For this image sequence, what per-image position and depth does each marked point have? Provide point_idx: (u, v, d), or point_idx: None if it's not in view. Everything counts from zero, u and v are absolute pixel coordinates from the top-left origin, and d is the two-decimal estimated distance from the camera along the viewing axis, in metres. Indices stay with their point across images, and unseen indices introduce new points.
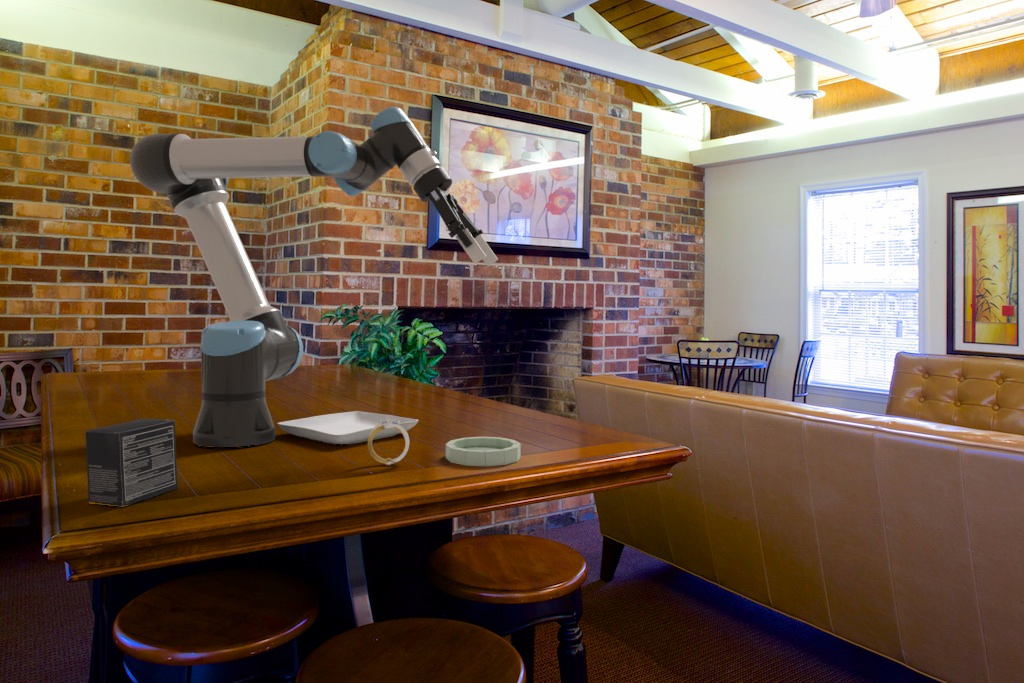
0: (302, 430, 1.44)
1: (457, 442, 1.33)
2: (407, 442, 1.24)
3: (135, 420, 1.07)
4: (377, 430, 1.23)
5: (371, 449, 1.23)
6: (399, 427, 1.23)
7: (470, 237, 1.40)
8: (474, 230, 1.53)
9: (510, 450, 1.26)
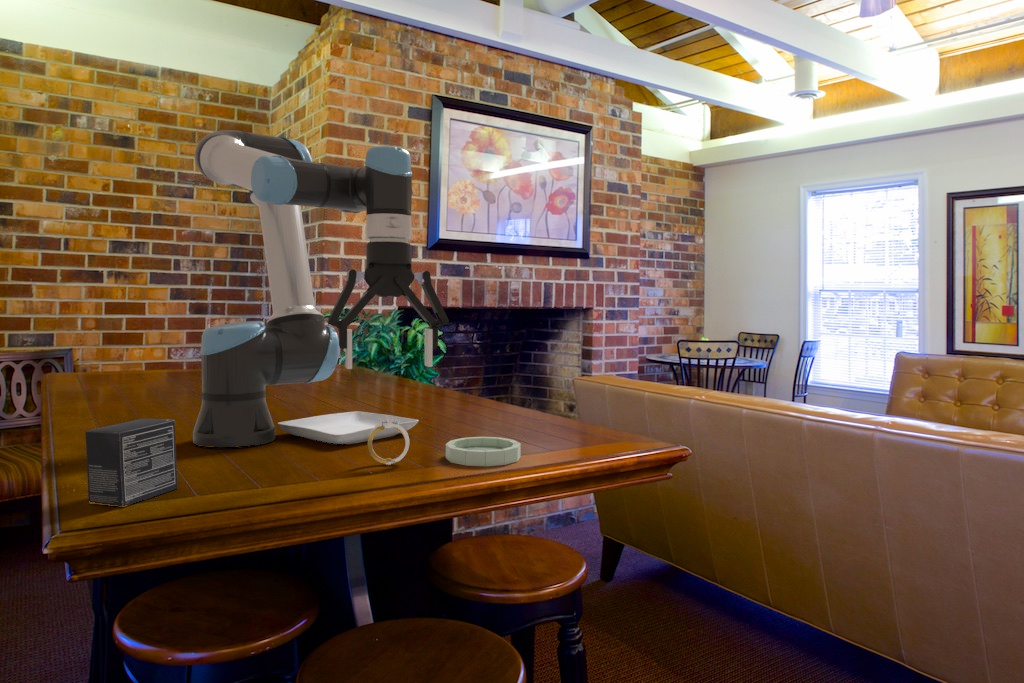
0: (302, 430, 1.44)
1: (457, 442, 1.33)
2: (407, 442, 1.24)
3: (135, 420, 1.07)
4: (377, 430, 1.23)
5: (371, 449, 1.23)
6: (399, 427, 1.23)
7: (347, 341, 1.20)
8: (427, 321, 1.24)
9: (510, 450, 1.26)
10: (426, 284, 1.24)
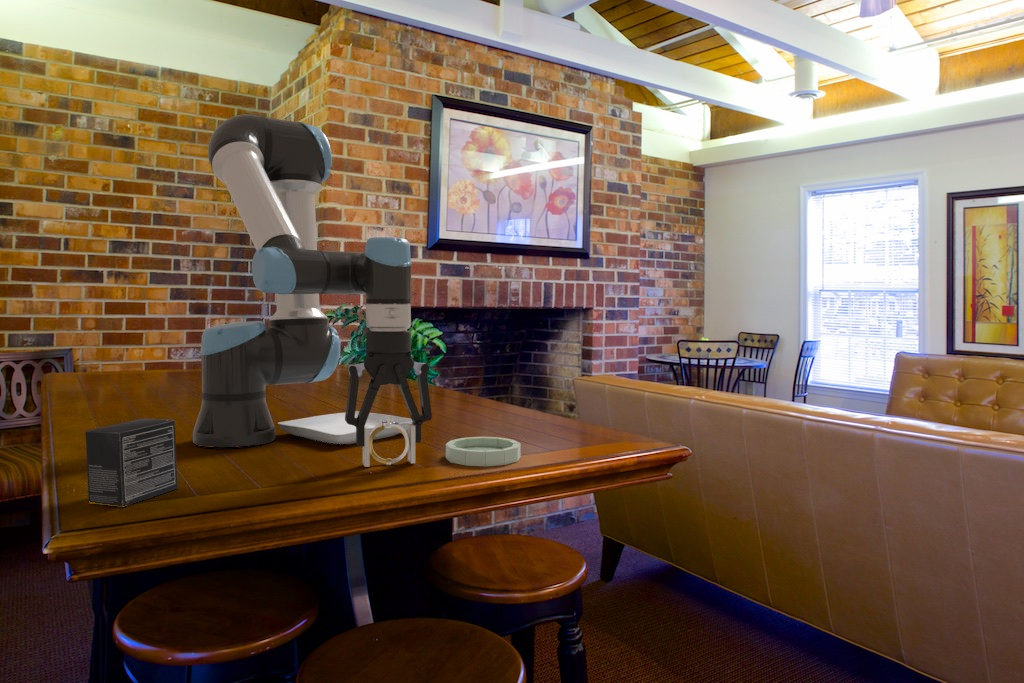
0: (302, 430, 1.44)
1: (457, 442, 1.33)
2: (407, 442, 1.24)
3: (135, 420, 1.07)
4: (377, 430, 1.23)
5: (371, 449, 1.23)
6: (399, 427, 1.23)
7: (364, 439, 1.22)
8: (411, 415, 1.24)
9: (510, 450, 1.26)
10: (422, 376, 1.24)
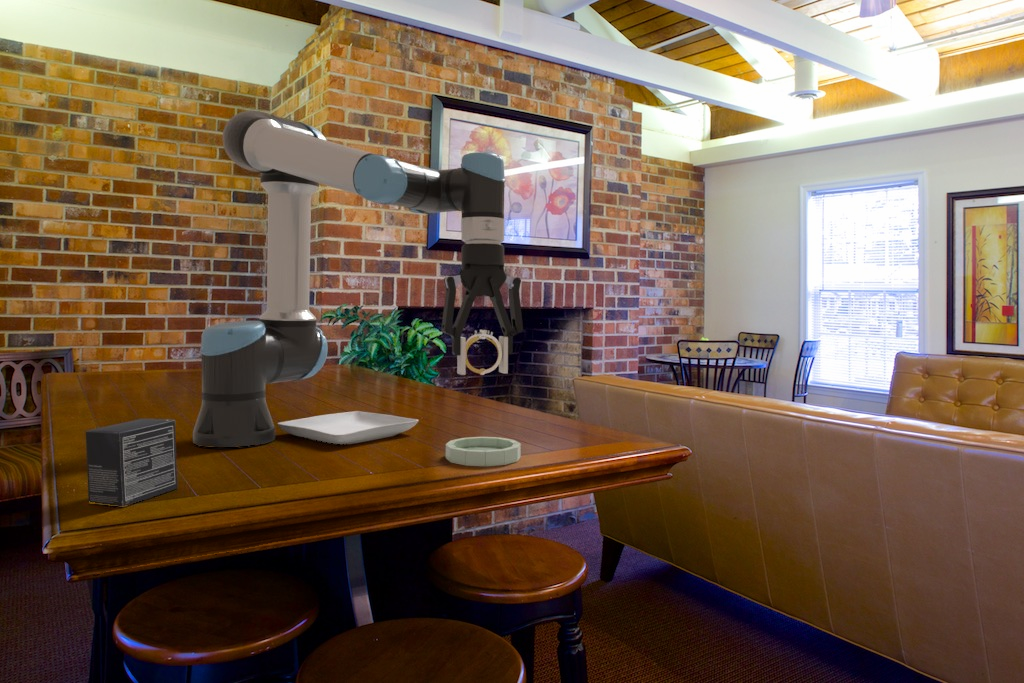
0: (302, 430, 1.44)
1: (457, 442, 1.33)
2: (500, 353, 1.29)
3: (135, 420, 1.07)
4: (472, 340, 1.27)
5: (466, 359, 1.28)
6: (493, 338, 1.28)
7: (460, 348, 1.26)
8: (504, 327, 1.29)
9: (510, 450, 1.26)
10: (514, 289, 1.29)
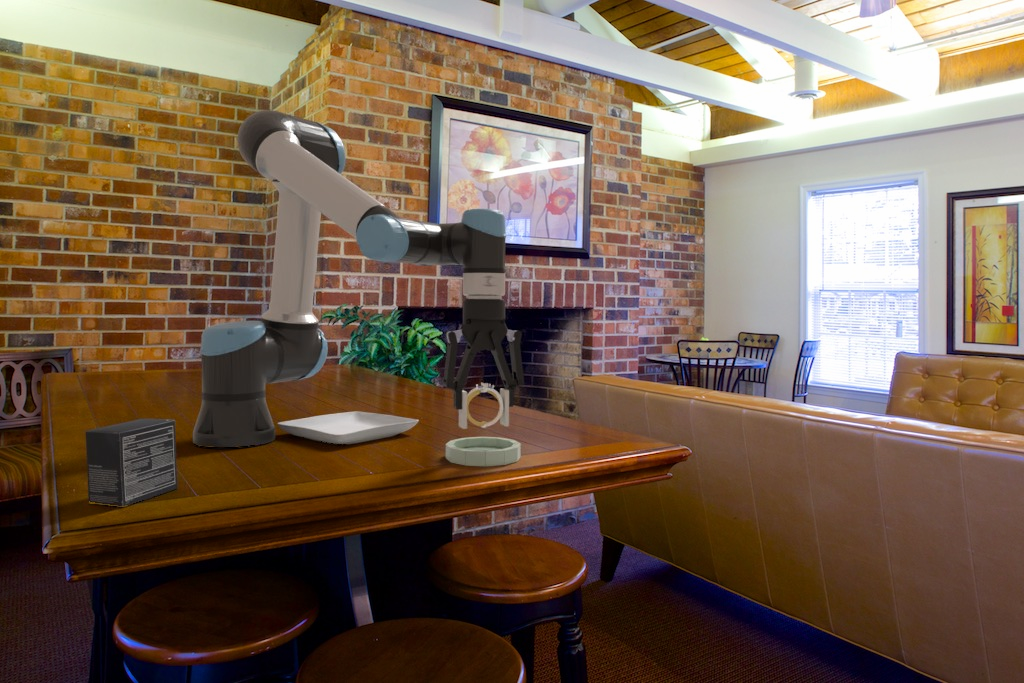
0: (302, 430, 1.44)
1: (457, 442, 1.33)
2: (501, 406, 1.29)
3: (135, 420, 1.07)
4: (474, 394, 1.28)
5: (467, 412, 1.29)
6: (494, 391, 1.29)
7: (462, 402, 1.27)
8: (505, 380, 1.30)
9: (510, 450, 1.26)
10: (515, 343, 1.30)
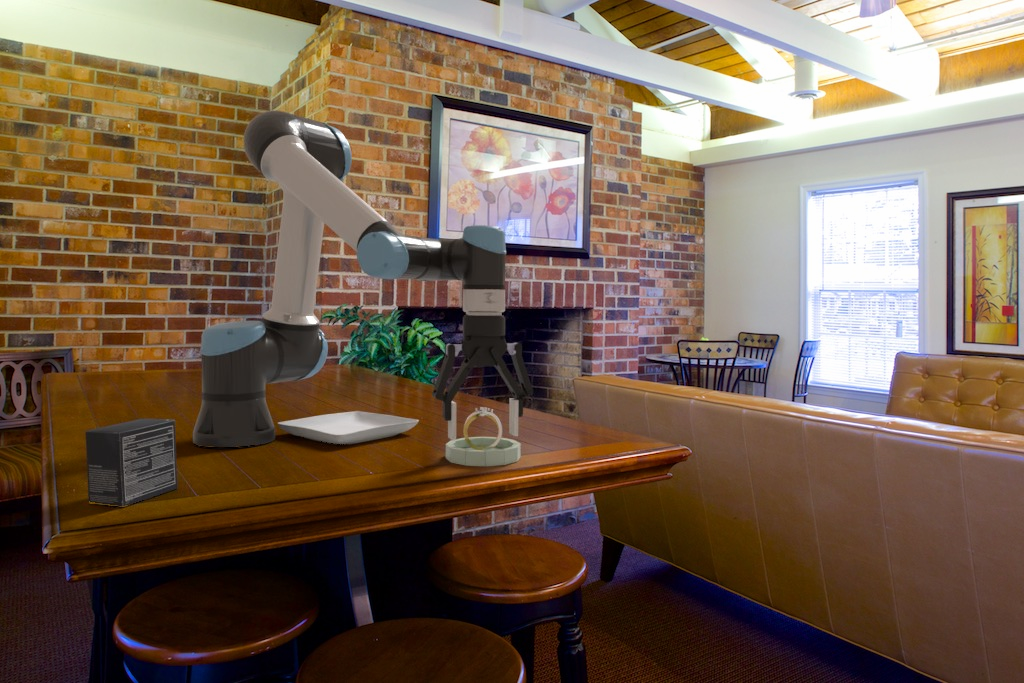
0: (302, 430, 1.44)
1: (457, 442, 1.33)
2: (500, 430, 1.30)
3: (135, 420, 1.07)
4: (473, 417, 1.29)
5: (467, 436, 1.30)
6: (493, 415, 1.30)
7: (451, 413, 1.27)
8: (514, 391, 1.31)
9: (510, 450, 1.26)
10: (517, 356, 1.30)
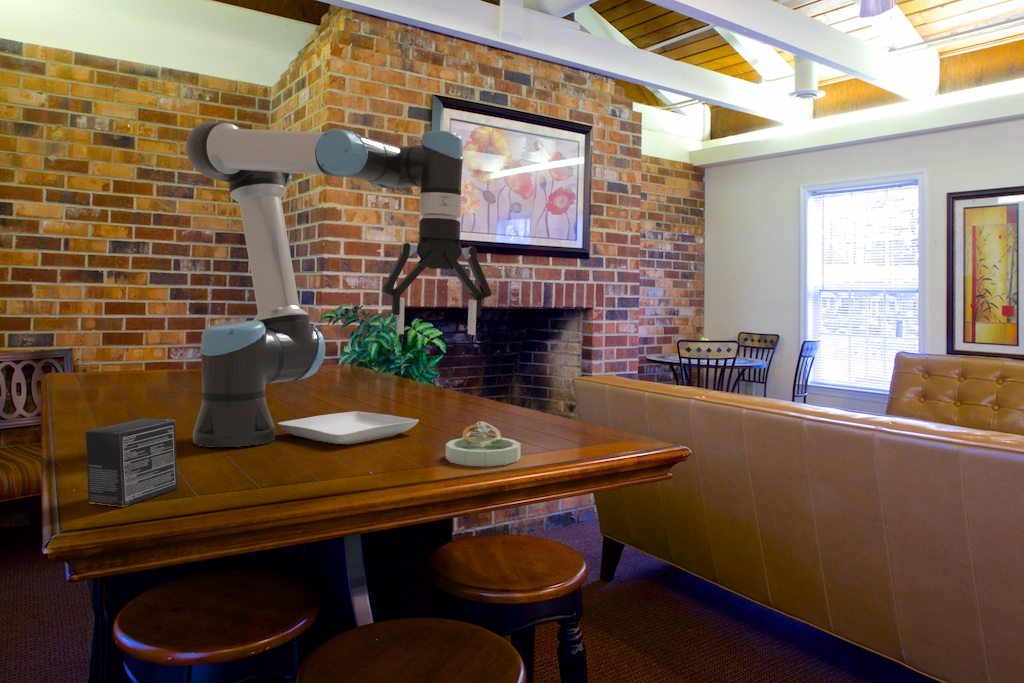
0: (302, 430, 1.44)
1: (457, 442, 1.33)
2: (499, 433, 1.34)
3: (135, 420, 1.07)
4: (471, 426, 1.36)
5: (466, 436, 1.33)
6: (491, 426, 1.36)
7: (399, 308, 1.31)
8: (472, 292, 1.36)
9: (510, 450, 1.26)
10: (472, 259, 1.35)
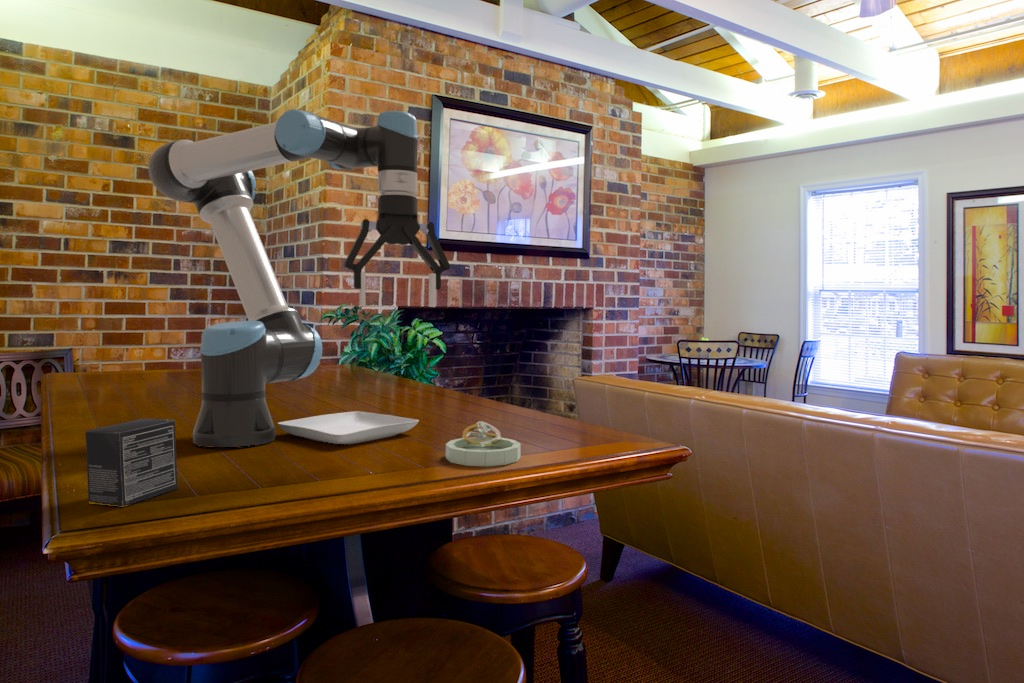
0: (302, 430, 1.44)
1: (457, 442, 1.33)
2: (499, 433, 1.34)
3: (135, 420, 1.07)
4: (471, 426, 1.36)
5: (466, 436, 1.33)
6: (491, 426, 1.36)
7: (361, 282, 1.37)
8: (431, 266, 1.41)
9: (510, 450, 1.26)
10: (430, 234, 1.40)
